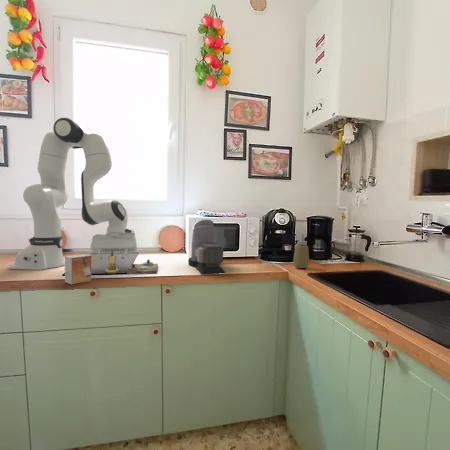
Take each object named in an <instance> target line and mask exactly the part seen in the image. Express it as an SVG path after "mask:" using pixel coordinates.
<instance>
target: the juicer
mask: <svg viewBox="0 0 450 450" xmlns="http://www.w3.org/2000/svg"><path fill="white" fill-rule="evenodd" d="M217 234H218V229H217V227H215V225H214V221H213V220H211V219H202V220H199V221H198V222H196V224H195V228H193V229H192V241H191V251H190V253H191V257H189V258H188V260H187V261H188V266H189V267H192V268H195V269H196V270H197V271H198V273H199V274H200V275H201V276H203V275H220V274H219V273H226V272H225V270H224V269H223V268H222V266H221V264H222V263H223V262H224V248H223V247H222V245H220V244H218V243H217V240H218V239H217V238H218V235H217Z"/></svg>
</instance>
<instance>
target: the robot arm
mask: <svg viewBox="0 0 450 450" xmlns="http://www.w3.org/2000/svg"><path fill="white" fill-rule="evenodd" d="M52 127H53V130H52V131H51V132H48V133H45V135H44V137H43V140H42V143H41V146H40V150H39V155H38V156H39V157H38V161H37V162H38V163H37V172H38V174H39V177H40V183H38V184H36V183H35V184H32V185H29V186H27V187H25V189H24V191H23V193H22V196H23V197H22V198H23V200H24V202H25V204H27V205H28V207H29V211H30V213H31V217H32V220H33V235H34V236H33V237H31V238H29V239H27V241H28V243H29V245H28V246H26V247H25V248H23V249H22V250H20V251H19V252H18V253H17V254H16V256H15V259H14V263H11V264H10V265H9V266H8V269H9V270H31V271H33V270H34V271H35V270H36V271H37V270H38V271H40V270H46V269H53V268H58V267H59V268H60V267H62V266H65V257H64V255H63V236H62V220H61V219H60V217H59V215H58V212H57V208H59V207H62V206H63V205H65V204H66V203H67V202H68V193H67V191H66V184H65V183H66V182H65V173H66V165H67V159H68V153H69V150H70V149H71V148H72V149H74V150H75V149H83V150H82V151H83V153H84V158H85V166H84V169H83V170H82V172H81V175H80V176H81V177H80V184H81V186H80V187H81V200H82V201H81V203H82V204H81V206H82V207H81V219H82V220H83V221H84V222H85V223H86V224H87V225H90V226H95V225H99V224H102V223H106V222H108V225H107V228H106V232H105V234H104V233H103V234H99V233H98V234H95V235H93V236H92V239H91V243H90V250H91V252H92V253H98V255H99V260H104V258H105V255H104V253H107V252H108V253H111V250H113V253H117V252H118V253H119V252H120V253H121V252H124V253H122V254H121V259H122V260H125V259H126V256H128V254H129V252H132V253H133V252H134V253H135V252H136V251H137V249H138V248H137V239H136V235H135V231H134V230H133V229H129V228H127V225H128V219H129V218H128V212H127V209H126V208H125V207H124V206H123V204H122V203H120V202H119V201H118V200H116V199H110V200H105V201H101V202H95V200H94V187H95V186H94V185H95V184H96V182H98V181H99V180H100V179H102V178H103V177H105V176H106V175H107V174H109V172H110V171H111V169H112V168H113V167H112V166H113V165H112V164H113V163H112V158H111V157H112V156H111V152H110V150H109V146H108V144H107V141H106V139H105V137H104V136H103V135H102V134H101V133H99V132H92V131H91V129H90V128H88V127H87V126H85V125H84V124H82V123H81V122H79V121H76V120H74V119H73V118H69V117H60V118H58V119H57V120H55V122H54V124H53V126H52Z"/></svg>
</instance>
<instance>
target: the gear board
mask: <svg viewBox="0 0 450 450" xmlns="http://www.w3.org/2000/svg"><path fill="white" fill-rule="evenodd" d="M158 267H159V265H158V263H154V261H153V262H152V261H150V259H146V261H144V262H143V263H130V264H129V267H128V269H127V270H126V275H142V274H144V275H145V274H146V275H148V274H150V275H151V274H157V272H158Z"/></svg>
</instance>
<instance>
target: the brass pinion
mask: <svg viewBox="0 0 450 450" xmlns="http://www.w3.org/2000/svg"><path fill="white" fill-rule="evenodd" d="M118 271H120V270H119V268H117V255H115V254H114V252H113V250H111V252H110V255H108V256H107V268H105V273H106V272H107V273H106V274H116V273H115V272H118ZM118 273H119V272H118Z"/></svg>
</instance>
